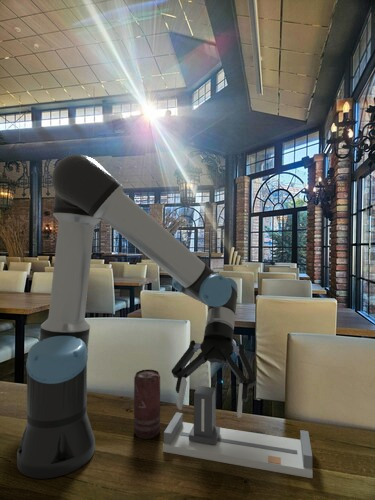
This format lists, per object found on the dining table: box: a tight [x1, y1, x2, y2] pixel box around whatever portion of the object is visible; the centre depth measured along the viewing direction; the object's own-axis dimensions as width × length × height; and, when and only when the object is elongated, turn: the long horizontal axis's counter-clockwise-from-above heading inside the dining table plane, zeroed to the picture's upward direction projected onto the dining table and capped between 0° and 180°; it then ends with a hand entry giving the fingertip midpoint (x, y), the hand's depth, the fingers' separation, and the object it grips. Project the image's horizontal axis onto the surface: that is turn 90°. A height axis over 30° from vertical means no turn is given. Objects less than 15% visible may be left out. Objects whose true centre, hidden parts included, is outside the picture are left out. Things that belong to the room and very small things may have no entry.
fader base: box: [162, 412, 314, 479], centre depth 71 cm, size 30×10×4 cm, turn 75°
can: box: [133, 369, 161, 440], centre depth 78 cm, size 6×6×14 cm
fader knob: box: [189, 385, 221, 445], centre depth 73 cm, size 6×5×10 cm
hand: (208, 411), depth 73 cm, fingers open, 13 cm apart
